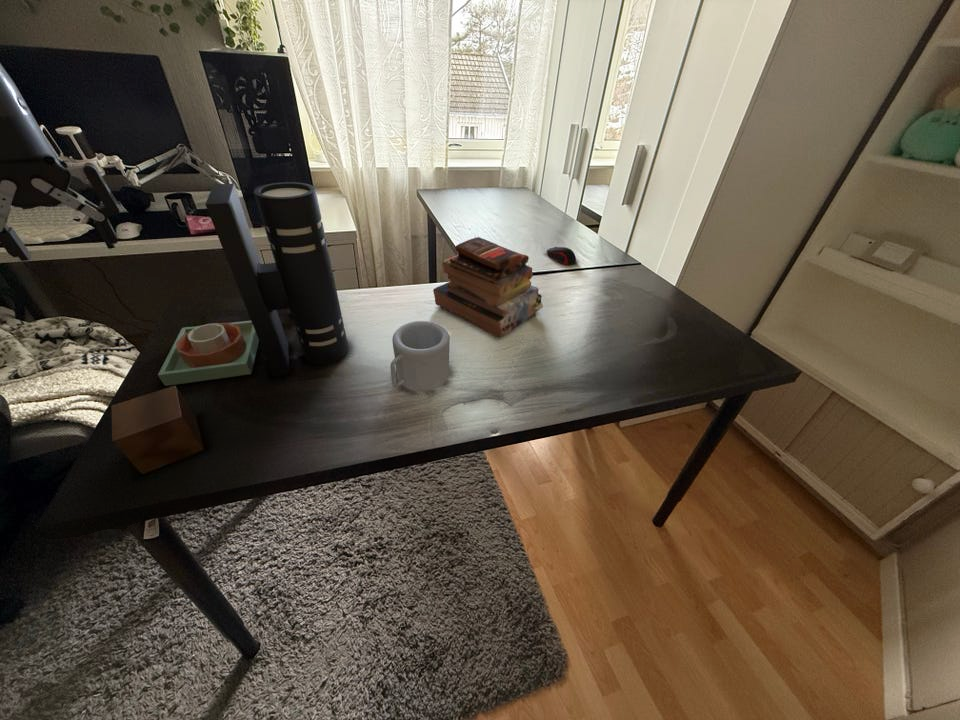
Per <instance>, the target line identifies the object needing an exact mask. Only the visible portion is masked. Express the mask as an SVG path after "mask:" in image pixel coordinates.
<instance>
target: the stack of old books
mask: <svg viewBox="0 0 960 720" xmlns="http://www.w3.org/2000/svg"><path fill="white" fill-rule="evenodd" d="M455 251H456V252H457V253H458V254H456V255H454V256H452V257H449V258H446V259H445V260H442V269H443V273H444V274H447V279H448V280H450V281H447V282H446V283H444V284H441V285H439V286H436V287H435V288H433V289H432V291H433V296H434V303H435V305H436V306H439V307H440V308H441V309H442V310H443V311H444V310H445V311H446V312H448V313H450V314H452V315H454V316H456V317H457V318H459V319H462V320H463V321H465V322H467V323H468V324H470V325H473V326H474V327H476V328H478V329H480V330H482V331H484V332H485V333H487V334H489V335H491V336H492V337H494V338H496V339H499V338H500V337H505V336H506V335H508V334H509V333H510V332H512V331H513V330H515V329H516V328H517V327H519V326H520V325H521V324H523V323H524V322H525V321H527V320H528V319H529V318H531V317H532V316H534V314H535V313H537V312H538V311H539V310H541V309H542V308H543V307H544V305H543V303H542V297H543V296H542V294H540V293H539V290H540V289H539V287H537V286H534V285H532V281H531V279H532V278H533V275H534V274H533V267H532V266H530V265H527V264H528V262H529V259H530V258H529V255H526V254H523V253H521V252H518V251H515V250H511V249H508V248H507V247H504V246H501V245H499V244H497V243H495V242H492V241H490V240H487V239H485V238H482V237H480V236H476V237H473V238H470V239H467V240H465V241H463V242H460V243H458V244H456V245H455Z"/></svg>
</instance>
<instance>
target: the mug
mask: <svg viewBox="0 0 960 720" xmlns="http://www.w3.org/2000/svg"><path fill="white" fill-rule="evenodd" d="M450 338H451V337H450V334H449V331H448V330H447V328H445V327H444V326H443V325H441V324H439V323H437V322H433V321H429V320H414V321H410V322H408V323H407V322H406V323H404V324H403V325H401V326H400V327H398V328H397V329H396V330H395V332H394V333H393V335H392V339H391V341H392V350H393V354H394V358H393V360H392V361H391V362H390V376H391V382H392V383H391V384H392V387H394V388H398V387H400V386H402V387H403V388H405V389H407V390H410V391H413V392H414V391H415V392H431V391H433V390H436V389H439V388H440V387H442V386H443V385H445V383H446V382H447V381H448V379H449V377H450V348H451V347H450V346H451V339H450ZM397 381H398V382H397Z"/></svg>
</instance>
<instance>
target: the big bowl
mask: <svg viewBox="0 0 960 720" xmlns="http://www.w3.org/2000/svg"><path fill="white" fill-rule="evenodd" d="M230 323H231V322H212V323H211V324H220V325H222V326H224V328H225V331H226V333H227V335H228V337H229V339H230V342H231V344H229V345H228V346H226V347H224V348H223V349H220V350H217V351H214V352H210V353H207V354H196V352H195V351H194V349H193V347H192V345H191V343H190V341H189V340H188V336H187V335H188V334H189V333H190V331H189V332H188V333H186V334H184V335H183V336H182V337H181V338H180V339H179V341H178V342H177V343H176V346H177V350H178V353H179V354H180V356H181V358H182V360H183V361H184V363H185V364H187V365H188V366H189V367H191V368H197V367H205V366H213V365H220V364H228V363H232V362H234V361H235V360H237V359H238V358H239V357H241V356H242V355H243V353H244V352H245V350H246V343H245V340H244V338H243V336H242V333H241V331H240V329H239V327H238V326H235V325H232V324H230ZM191 331H192V330H191Z"/></svg>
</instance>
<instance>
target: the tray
mask: <svg viewBox="0 0 960 720" xmlns="http://www.w3.org/2000/svg"><path fill="white" fill-rule="evenodd" d="M229 323H230V324H232V325H235V326H238V327H239V329H240V331H241V333H242V336H243V338H244V340H245V343H246V350H245V352H244V353H243V355H242V356H241V357H239V358H238V359H237V360H235V361H234V362H232V363H228V364H220V365H213V366H205V367H197V368H191V367H189V366H188V365H187V364H185V363H184V361H183V360H182V358H181V356H180V354H179V353H178V350H177V346H176V343H177V342H178V341H179V339H180V338H181V337H182V336H183V335H184V334H186V333H188V332H189V331H191V330H193V329H195V328H197V327H199V326H200V325H196V326H195V325H194V326H185V327H182V328H181V329H180V332H179V333H178V335H177V337H176V339H175V341H174V343H173V345H172V347H171V349H170V351H169V352H168V355H167V356H166V358H165V360H164V362H163V364H162V366H161V368H160V370H159V372H158V373H157V376H158V378H159V380H160V381H161V382H162V384H163V385H164V387H170V386H176V385H182V384H189V383H197V382H204V381H211V380H219V379H226V378H233V377H239V376H246V375H247V376H248V375H252V372H253V368H254V364H255V359H256V356H257V351H258V348H259V344H260V342H259V339H258V337H257V334H256V332H255V329H254V326H253V324H252V321H251V320H243V321H233V322H229Z"/></svg>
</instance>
